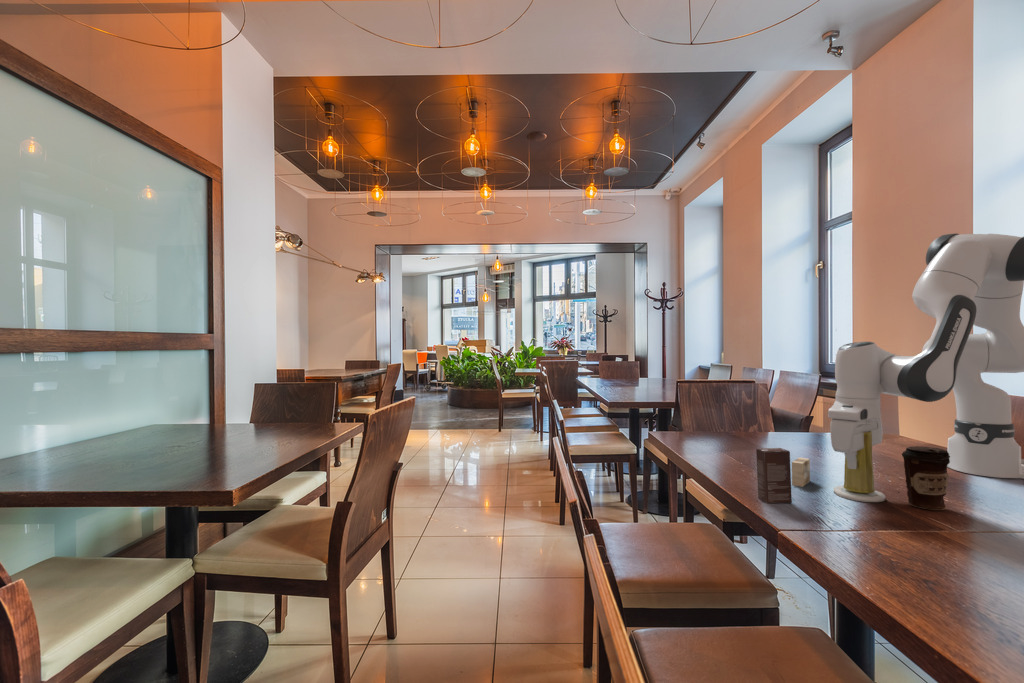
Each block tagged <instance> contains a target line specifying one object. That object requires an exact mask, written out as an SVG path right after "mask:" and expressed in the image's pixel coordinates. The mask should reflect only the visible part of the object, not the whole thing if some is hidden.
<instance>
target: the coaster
mask: <svg viewBox="0 0 1024 683" xmlns="http://www.w3.org/2000/svg"><path fill="white" fill-rule="evenodd" d="M833 494H835V495H836V496H837V497H839V498H840V497H841V498H844V499H847V500H850V501H856V502H863V503H882V502H885V501H886V495H885V494H884V493H883V492H881V491H878V490H875V492H873V493H858V492H853V491H849V490H847V489H845V488H844V485H841V486H840V485H839V486H835V487H834V488H833Z"/></svg>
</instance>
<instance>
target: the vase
mask: <svg viewBox="0 0 1024 683" xmlns="http://www.w3.org/2000/svg"><path fill="white" fill-rule="evenodd" d="M862 433H864V448H863V449H861V450H858V451H857V455H856V458H857V461H858V468H857V469H849V468H848V467H847V459H846V457H845V456H844V476H843V477H844V478H843V479H844V480H843V486H844V488H845V489H847V490H849V491H853V492H858V493H873V492H875V491H876V489H875V479H874V466H873V464H874V463H873V446H872V432H871V431H869V432H862Z"/></svg>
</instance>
